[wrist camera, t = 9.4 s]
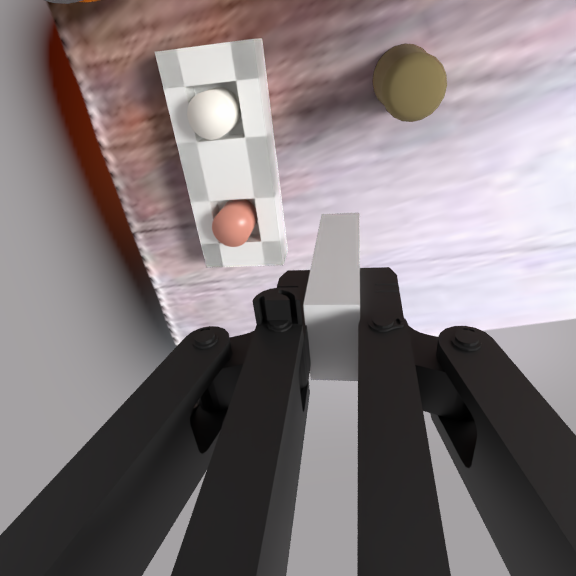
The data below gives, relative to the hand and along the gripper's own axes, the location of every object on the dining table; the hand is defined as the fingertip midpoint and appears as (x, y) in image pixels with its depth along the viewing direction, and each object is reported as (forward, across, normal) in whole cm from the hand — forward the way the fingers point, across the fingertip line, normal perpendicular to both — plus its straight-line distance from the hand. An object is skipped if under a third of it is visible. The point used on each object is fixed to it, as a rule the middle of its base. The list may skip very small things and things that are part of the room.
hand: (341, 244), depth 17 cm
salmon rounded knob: (+30, -14, -10) cm, 35 cm away
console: (+32, -14, -4) cm, 35 cm away
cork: (+33, +5, +3) cm, 33 cm away
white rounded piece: (+30, -14, +2) cm, 33 cm away
